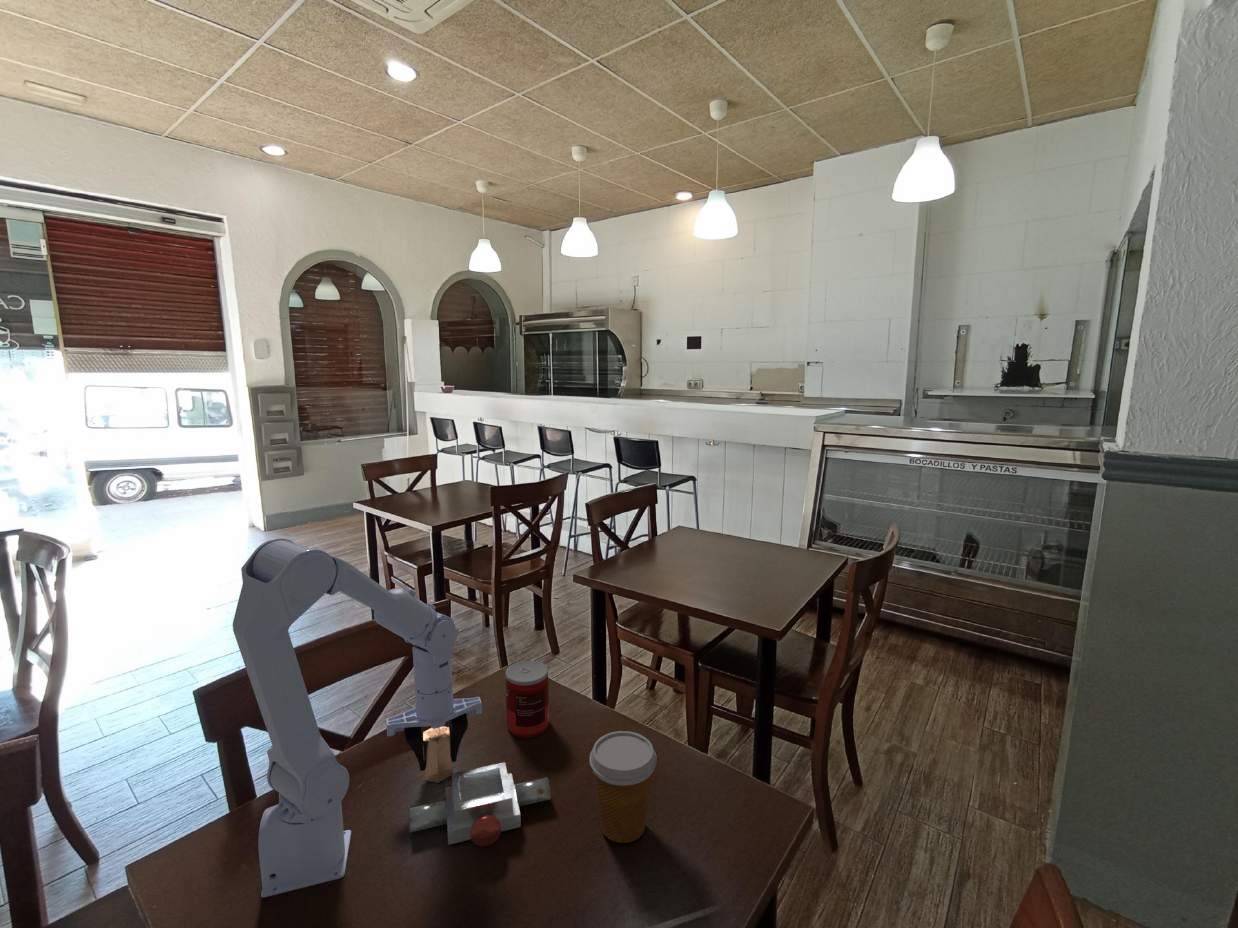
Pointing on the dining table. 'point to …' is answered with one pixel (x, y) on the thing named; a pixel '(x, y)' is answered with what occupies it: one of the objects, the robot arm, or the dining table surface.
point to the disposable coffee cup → (623, 783)
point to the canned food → (527, 698)
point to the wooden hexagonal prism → (437, 754)
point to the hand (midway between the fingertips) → (437, 762)
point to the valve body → (480, 805)
